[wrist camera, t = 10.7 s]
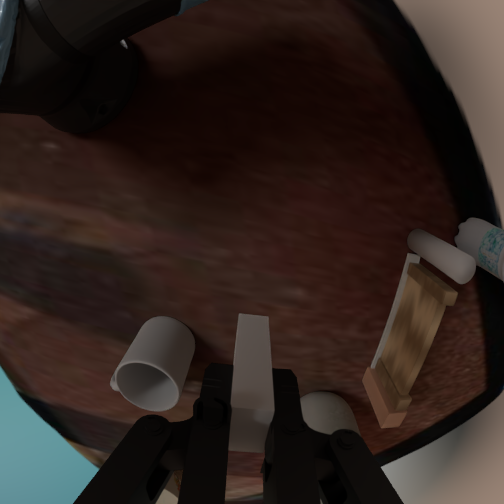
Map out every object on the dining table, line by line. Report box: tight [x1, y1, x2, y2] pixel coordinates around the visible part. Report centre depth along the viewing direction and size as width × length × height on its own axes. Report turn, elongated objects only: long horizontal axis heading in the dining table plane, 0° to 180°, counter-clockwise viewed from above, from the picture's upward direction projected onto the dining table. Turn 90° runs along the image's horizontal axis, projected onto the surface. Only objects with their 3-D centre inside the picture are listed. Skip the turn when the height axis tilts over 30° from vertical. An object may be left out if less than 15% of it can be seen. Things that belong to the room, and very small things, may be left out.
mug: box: [110, 316, 195, 411], centre depth 39 cm, size 12×8×11 cm
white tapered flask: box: [300, 391, 361, 504], centre depth 33 cm, size 10×10×28 cm
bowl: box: [156, 472, 180, 504], centre depth 49 cm, size 16×16×10 cm
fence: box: [362, 229, 476, 428], centre depth 36 cm, size 26×3×12 cm, turn 172°
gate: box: [375, 262, 458, 411], centre depth 36 cm, size 18×2×10 cm, turn 173°
